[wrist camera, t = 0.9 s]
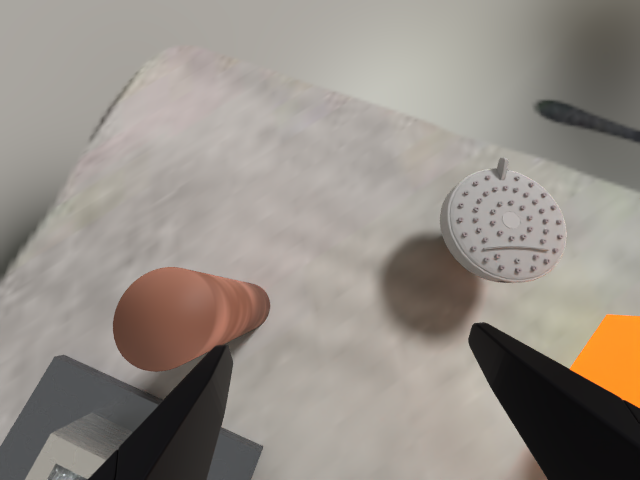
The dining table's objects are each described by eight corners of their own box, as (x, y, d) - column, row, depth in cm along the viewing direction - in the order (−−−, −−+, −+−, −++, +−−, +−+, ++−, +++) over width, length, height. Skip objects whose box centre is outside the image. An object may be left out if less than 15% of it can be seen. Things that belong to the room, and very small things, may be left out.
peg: (271, 327, 23) (216, 363, 10) (225, 333, 23) (109, 378, 10) (268, 280, 24) (213, 261, 11) (223, 286, 24) (116, 273, 11)
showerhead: (564, 156, 19) (595, 282, 17) (498, 194, 26) (513, 287, 24) (447, 153, 19) (462, 279, 17) (412, 192, 26) (419, 285, 24)
